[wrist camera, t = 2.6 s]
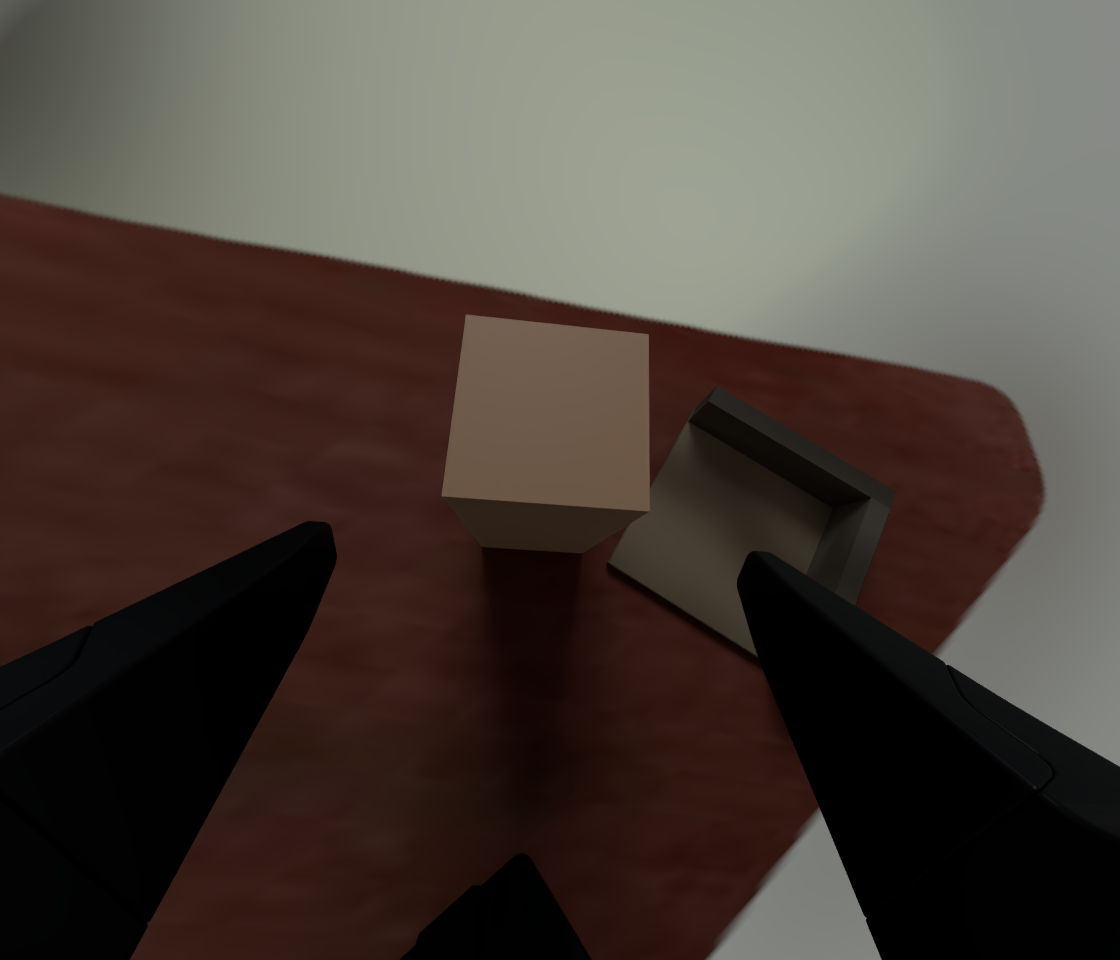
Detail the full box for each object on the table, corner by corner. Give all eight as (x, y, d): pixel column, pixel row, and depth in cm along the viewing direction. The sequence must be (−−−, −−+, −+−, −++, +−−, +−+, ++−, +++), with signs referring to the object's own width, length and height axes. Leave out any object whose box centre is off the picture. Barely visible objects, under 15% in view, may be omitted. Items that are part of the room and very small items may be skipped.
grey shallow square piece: (782, 673, 20) (825, 686, 17) (606, 562, 21) (620, 558, 18) (850, 504, 23) (896, 491, 20) (693, 410, 23) (716, 385, 21)
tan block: (582, 553, 21) (649, 511, 10) (481, 547, 20) (441, 496, 10) (586, 459, 22) (649, 334, 11) (491, 451, 22) (466, 314, 11)
